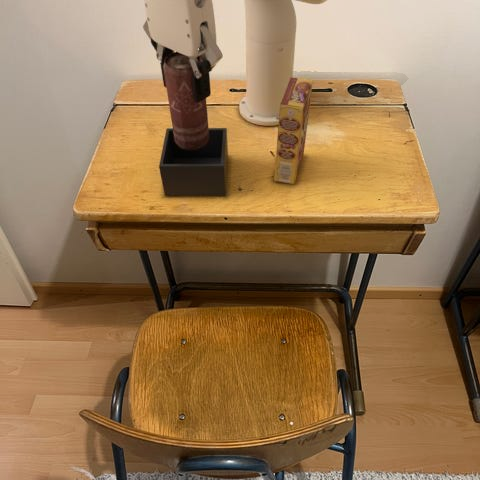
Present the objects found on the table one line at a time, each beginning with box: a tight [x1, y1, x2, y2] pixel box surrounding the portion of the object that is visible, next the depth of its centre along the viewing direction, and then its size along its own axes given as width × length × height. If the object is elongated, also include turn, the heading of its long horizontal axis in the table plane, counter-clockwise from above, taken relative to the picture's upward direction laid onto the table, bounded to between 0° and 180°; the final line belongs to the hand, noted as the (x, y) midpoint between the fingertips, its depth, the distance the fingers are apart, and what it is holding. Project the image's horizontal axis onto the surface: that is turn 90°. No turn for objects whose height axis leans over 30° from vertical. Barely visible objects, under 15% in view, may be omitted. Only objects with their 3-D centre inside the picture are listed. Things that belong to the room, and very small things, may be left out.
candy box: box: [273, 77, 314, 185], centre depth 82 cm, size 9×4×15 cm, turn 165°
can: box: [163, 51, 210, 150], centre depth 76 cm, size 6×6×14 cm
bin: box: [158, 127, 229, 197], centre depth 85 cm, size 11×11×7 cm
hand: (187, 90), depth 74 cm, fingers closed on can, 6 cm apart
